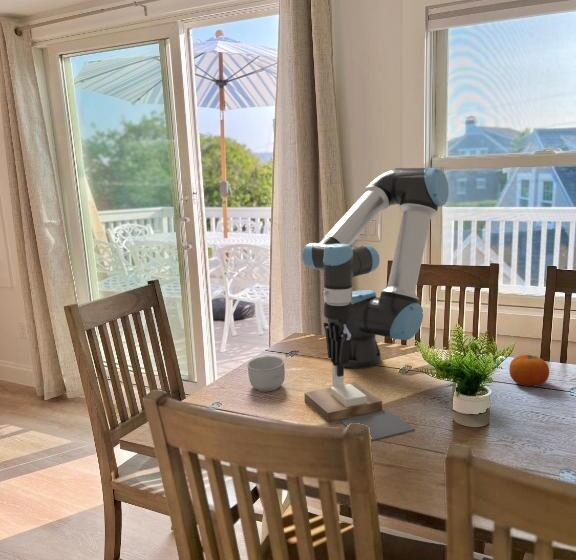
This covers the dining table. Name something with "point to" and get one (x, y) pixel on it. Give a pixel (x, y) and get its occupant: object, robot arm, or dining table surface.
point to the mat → (381, 424)
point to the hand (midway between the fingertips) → (338, 385)
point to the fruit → (529, 370)
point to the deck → (340, 404)
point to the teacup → (266, 373)
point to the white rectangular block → (348, 395)
